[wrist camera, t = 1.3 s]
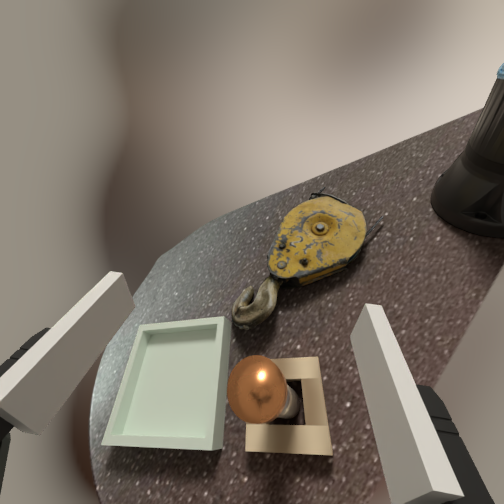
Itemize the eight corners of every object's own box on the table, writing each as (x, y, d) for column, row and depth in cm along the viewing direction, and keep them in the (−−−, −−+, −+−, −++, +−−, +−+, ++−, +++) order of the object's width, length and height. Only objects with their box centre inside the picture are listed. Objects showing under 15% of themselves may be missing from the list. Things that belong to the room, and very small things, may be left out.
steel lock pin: (303, 381, 28) (281, 353, 18) (307, 425, 26) (286, 424, 15) (268, 382, 29) (229, 356, 19) (269, 424, 27) (224, 423, 16)
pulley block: (196, 285, 34) (321, 172, 42) (209, 298, 39) (318, 194, 47) (262, 357, 27) (396, 206, 35) (268, 362, 32) (385, 228, 40)
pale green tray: (231, 323, 36) (224, 316, 33) (222, 448, 27) (211, 450, 24) (151, 330, 39) (139, 325, 37) (118, 443, 30) (101, 445, 28)
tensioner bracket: (318, 360, 29) (317, 356, 28) (333, 453, 24) (332, 455, 22) (252, 363, 31) (247, 360, 30) (250, 449, 26) (245, 451, 24)
